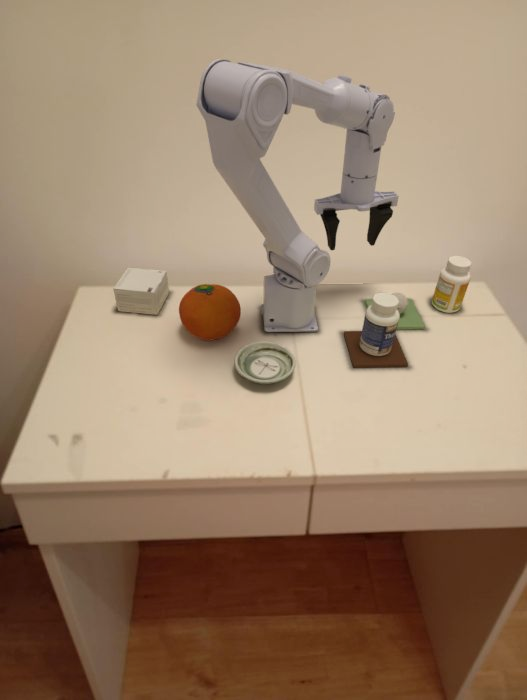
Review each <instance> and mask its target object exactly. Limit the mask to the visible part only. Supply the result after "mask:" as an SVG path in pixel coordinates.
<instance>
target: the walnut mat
mask: <svg viewBox="0 0 527 700" xmlns="http://www.w3.org/2000/svg"><path fill="white" fill-rule="evenodd" d="M361 333H362V330H344V331H343V336H344V341H345V343H346V347H347V351H348V354H349V357H350V360H351V364H352V367H353V368H354V369H356V368H359V369H361V368H363V369H364V368H365V369H366V368H408V366H409V362H408V361H407V357H406V355H405V353H404V351H403V348H402V347H401V344H400V342H399V339H398V336H397V335H396V334H397V333H395V337H394V341H393V345H392V348H391V351H390V352H389V353H388V354H386V355H383V356H373V355H370V354H368V353H366V352H364V351H363V350H362V349H361V347H360V338H361Z"/></svg>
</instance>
